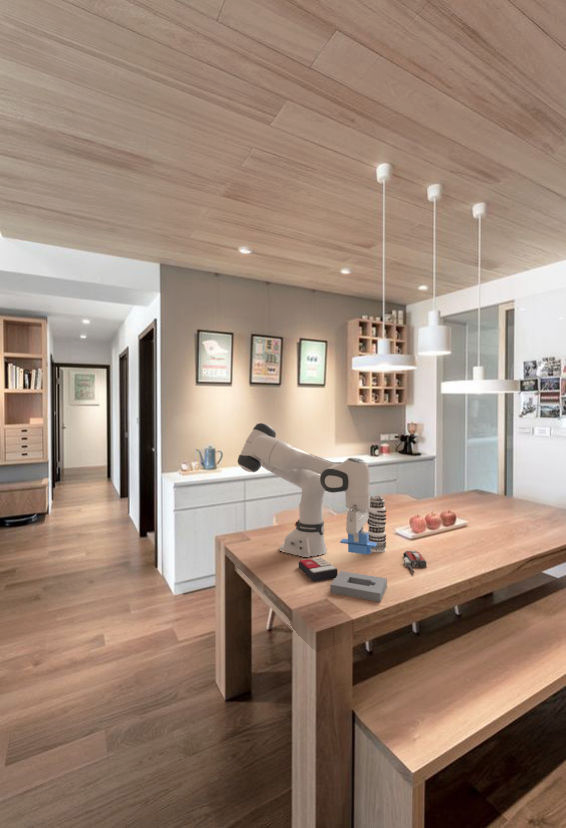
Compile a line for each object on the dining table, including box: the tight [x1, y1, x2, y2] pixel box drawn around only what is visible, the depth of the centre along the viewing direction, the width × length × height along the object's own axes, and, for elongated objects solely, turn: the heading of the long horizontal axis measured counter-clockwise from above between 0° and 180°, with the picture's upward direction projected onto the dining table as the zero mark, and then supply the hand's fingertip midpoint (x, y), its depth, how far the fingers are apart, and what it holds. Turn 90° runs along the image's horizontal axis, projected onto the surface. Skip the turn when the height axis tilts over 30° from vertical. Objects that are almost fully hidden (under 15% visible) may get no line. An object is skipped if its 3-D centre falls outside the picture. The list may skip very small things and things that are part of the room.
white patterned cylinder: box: [366, 495, 387, 553], centre depth 186 cm, size 9×9×25 cm
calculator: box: [298, 556, 339, 583], centre depth 161 cm, size 11×4×15 cm
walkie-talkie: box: [403, 550, 427, 574], centre depth 167 cm, size 9×4×20 cm
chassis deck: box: [330, 570, 388, 603], centre depth 145 cm, size 18×13×3 cm
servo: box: [339, 529, 377, 556], centre depth 145 cm, size 13×4×8 cm, turn 65°
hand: (358, 539), depth 145 cm, fingers closed on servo, 3 cm apart
